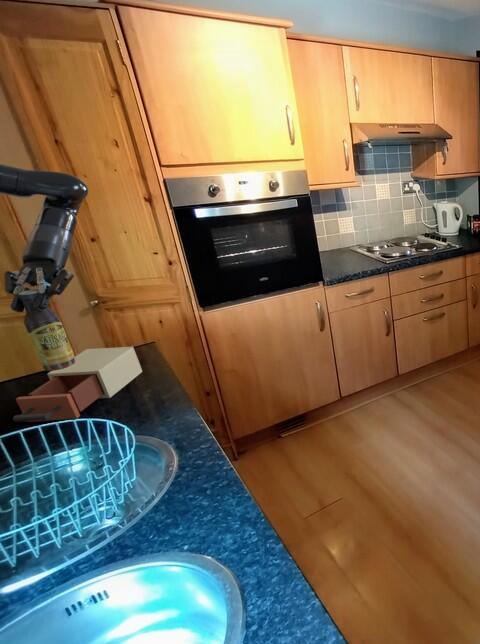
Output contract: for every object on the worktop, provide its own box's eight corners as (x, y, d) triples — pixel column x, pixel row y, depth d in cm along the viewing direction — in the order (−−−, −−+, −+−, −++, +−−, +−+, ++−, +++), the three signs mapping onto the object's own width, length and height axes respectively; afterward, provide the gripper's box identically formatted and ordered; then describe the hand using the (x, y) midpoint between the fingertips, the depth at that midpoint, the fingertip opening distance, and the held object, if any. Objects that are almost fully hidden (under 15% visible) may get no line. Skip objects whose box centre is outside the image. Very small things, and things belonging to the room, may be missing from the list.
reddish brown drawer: (62, 430, 112) (50, 407, 109) (9, 434, 111) (-4, 410, 108) (112, 390, 129) (104, 369, 126) (68, 393, 128) (58, 372, 125)
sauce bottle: (53, 374, 110) (16, 298, 102) (38, 369, 112) (1, 295, 104) (84, 362, 116) (52, 289, 108) (69, 357, 118) (36, 286, 110)
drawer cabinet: (110, 397, 127) (98, 370, 124) (59, 401, 126) (46, 373, 122) (142, 371, 140) (133, 346, 137) (97, 374, 139) (86, 348, 135)
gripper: (2, 239, 108) (-23, 305, 101) (67, 238, 109) (47, 303, 103) (30, 255, 115) (9, 318, 108) (91, 254, 116) (74, 315, 110)
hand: (27, 310), depth 106 cm, fingers closed on sauce bottle, 4 cm apart
